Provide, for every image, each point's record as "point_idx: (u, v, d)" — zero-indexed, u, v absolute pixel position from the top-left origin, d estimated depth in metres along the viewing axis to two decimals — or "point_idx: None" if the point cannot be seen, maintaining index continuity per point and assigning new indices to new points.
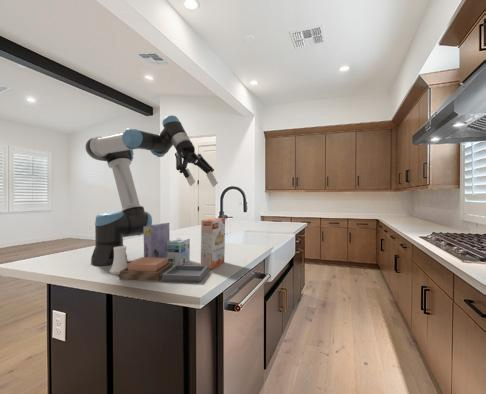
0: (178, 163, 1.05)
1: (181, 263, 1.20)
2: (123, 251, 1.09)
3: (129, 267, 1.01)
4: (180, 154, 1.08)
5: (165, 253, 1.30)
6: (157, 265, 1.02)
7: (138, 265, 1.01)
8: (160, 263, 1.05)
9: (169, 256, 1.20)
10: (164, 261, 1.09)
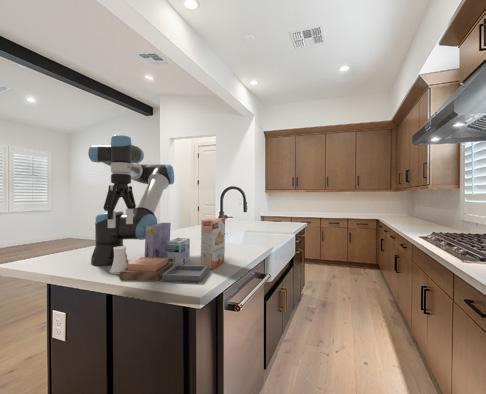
0: (108, 203, 1.00)
1: (181, 263, 1.20)
2: (123, 251, 1.09)
3: (129, 267, 1.01)
4: (115, 191, 1.03)
5: (165, 253, 1.30)
6: (157, 265, 1.02)
7: (138, 265, 1.01)
8: (160, 263, 1.05)
9: (169, 256, 1.20)
10: (164, 261, 1.09)
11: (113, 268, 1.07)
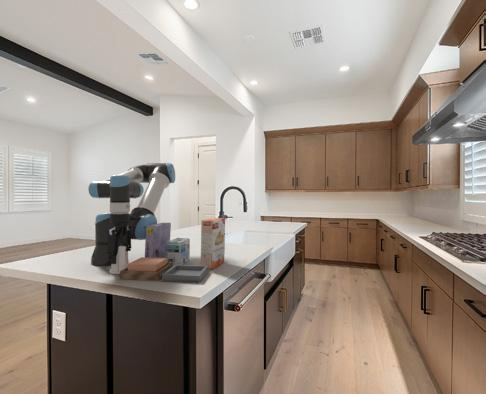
0: (111, 249, 1.03)
1: (181, 263, 1.20)
2: (123, 251, 1.08)
3: (129, 267, 1.01)
4: (114, 235, 1.04)
5: (165, 253, 1.30)
6: (157, 265, 1.02)
7: (138, 265, 1.01)
8: (160, 263, 1.05)
9: (169, 256, 1.20)
10: (164, 261, 1.09)
11: None
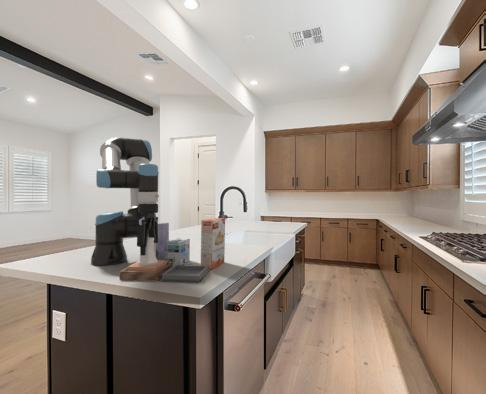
0: (141, 240, 0.99)
1: (181, 263, 1.20)
2: (151, 242, 1.05)
3: (129, 270, 1.01)
4: (144, 226, 1.00)
5: (165, 253, 1.30)
6: (157, 268, 1.02)
7: (138, 268, 1.01)
8: (160, 266, 1.05)
9: (169, 256, 1.20)
10: (164, 263, 1.09)
11: None
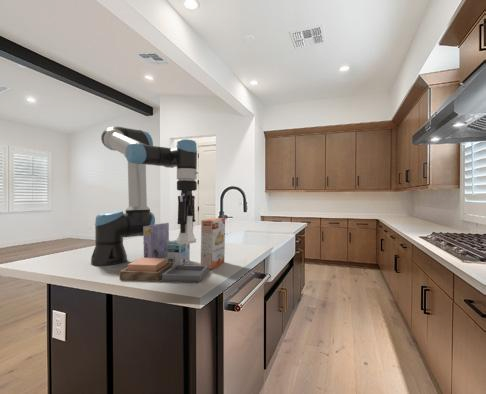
0: (182, 217, 0.97)
1: (181, 263, 1.20)
2: (190, 220, 1.02)
3: (129, 267, 1.01)
4: (185, 202, 0.98)
5: (165, 253, 1.30)
6: (157, 265, 1.02)
7: (138, 265, 1.01)
8: (160, 263, 1.05)
9: (169, 256, 1.20)
10: (164, 261, 1.09)
11: None
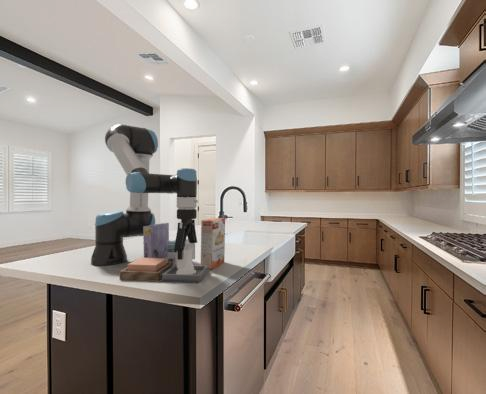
0: (179, 243, 0.94)
1: None
2: (190, 252, 1.03)
3: (129, 267, 1.01)
4: (184, 229, 0.97)
5: (165, 253, 1.30)
6: (157, 265, 1.02)
7: (138, 265, 1.01)
8: (160, 263, 1.05)
9: (169, 256, 1.20)
10: (164, 261, 1.09)
11: (181, 270, 1.01)
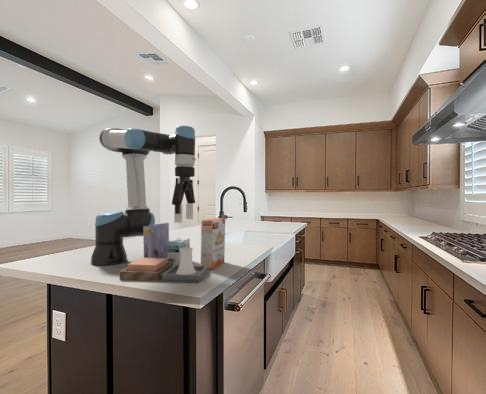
0: (177, 196, 0.96)
1: None
2: (190, 252, 1.03)
3: (129, 267, 1.01)
4: (182, 184, 0.98)
5: (165, 253, 1.30)
6: (157, 265, 1.02)
7: (138, 265, 1.01)
8: (160, 263, 1.05)
9: (169, 256, 1.20)
10: (164, 261, 1.09)
11: (181, 270, 1.01)
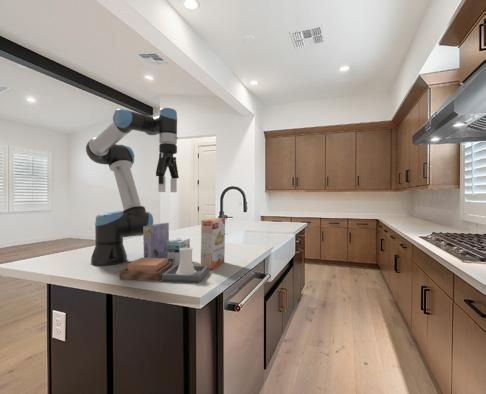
0: (160, 168, 1.09)
1: None
2: (190, 252, 1.03)
3: (129, 267, 1.01)
4: (165, 158, 1.12)
5: (165, 253, 1.30)
6: (157, 265, 1.02)
7: (138, 265, 1.01)
8: (160, 263, 1.05)
9: (169, 256, 1.20)
10: (164, 261, 1.09)
11: (181, 270, 1.01)
